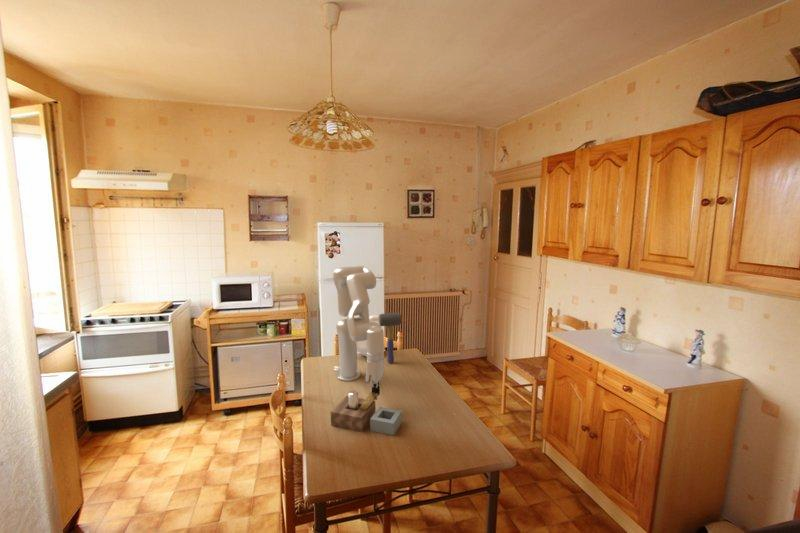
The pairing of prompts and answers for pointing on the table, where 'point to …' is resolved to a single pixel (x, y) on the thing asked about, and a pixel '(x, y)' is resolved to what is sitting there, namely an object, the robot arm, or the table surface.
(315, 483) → the table surface
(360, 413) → the socket block
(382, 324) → the rubber mallet
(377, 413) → the grey square ring block
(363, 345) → the decorative rooster
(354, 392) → the steel peg
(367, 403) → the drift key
